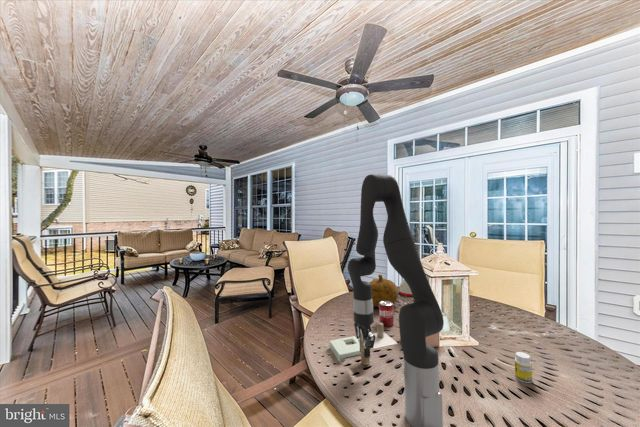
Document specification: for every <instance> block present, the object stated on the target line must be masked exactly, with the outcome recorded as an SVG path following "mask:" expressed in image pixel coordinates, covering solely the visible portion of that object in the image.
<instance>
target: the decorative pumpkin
mask: <svg viewBox="0 0 640 427" xmlns="http://www.w3.org/2000/svg"><path fill="white" fill-rule="evenodd" d="M377 277H378V279H377V278H376V279H375V278H373V279H372V281H368V282H369V283H370V284H371V287H372V301H373V308H377V307H378V308H379V303H380V302H381V301H389V302H392V303H393V306H394V305H395V304H396V302H397V300H398V298H399V289H398V286H397V285H396V283H395V282H394V281H392V280H391V279H386V278H384V277H383V274H378V276H377Z"/></svg>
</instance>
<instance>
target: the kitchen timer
mask: <svg viewBox="0 0 640 427" xmlns="http://www.w3.org/2000/svg"><path fill="white" fill-rule="evenodd" d="M398 292H399V294H400V295H402V296H405V297H413V295H412V292H411V290H410V287H409V286H408V284H407V283H406V281H405V280H404V279H403V280H402V281H401V282H400V284H399V289H398Z"/></svg>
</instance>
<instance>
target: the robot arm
mask: <svg viewBox="0 0 640 427" xmlns="http://www.w3.org/2000/svg"><path fill="white" fill-rule="evenodd" d="M360 195H361V196H360V213H359V214H360V216H359V219H360V221H359V222H360V224H359V231H358V236H357V242H356V247H355V248H356V249H355V250H356V253H357V254H358V255H360V257H353V258H351V259H350V260H349V261H348V263H347V272H348V274H349V277H350V281H351V284H352V290H353V291H352V292H353V300H352V301H353V304H352V309H353V322H354V323H353V325H354V331H355V335H356V336H355V337H356V338H357V339H358V341H359V343H360V336H362V341H363V343H364V357H365V358H369V359H370V358H371V349H373V347H374V342H375V335H372V334H373V333H372V328H371V326H372V324H373V323H374V321H375V320H374V319H375V317H374V306H373V301H372V287H371V284H370V283H369V282H370V281H365V280H362V279H361V277H365V276H370V275H373V274H374V272H375V271H376V267H377V263H376V262H377V261H376V247H377V243H378V238H379V230H378V227H377V223H376V220H375V218H374V217H375V216H374V208H375V205H376V202H377V203H382V202H383V204H384V205H385V206H384V207H385V210H386V215H387V218H386V224H385V228H384V232H383V238H382V240H383V242H382V243H383V247H384V250H385V254H386V257H387V259H388V262H389V263H390V265H391V266H392V268H393V269H394V270H395V271H396V273H398V275H399V276H400V277H401V278H403V280H405V281H406V283H407V284H408V286H409V287H410V290H411V292H412V295H413V296H412V297H413V300H414V302H412V303H408V304H404V305H402V307H401V308H400V309H399V314H398V327H399V328H398V329H399V335H400V336H399V337H400V338H399V339H400V347H401V349H402V352H403V374H404V375H403V376H404V404H405V405H404V406H405V407H404V408H405V419H406V422H407V423H408V424H409V425H410V426H411V427H444V424H443V420H444V419H443V395H442V393H441V392H440V372H439V370H440V369H439V368H440V367H439V353H438V351H437V348H435V347H432V346H430V345H428V344H426V337H427V336H430V335H433V334H436V333H439V334H440V332H441V331H442V330H443V328H444V323H445V322H444V321H445V320H444V316H443V313H442V309H441V307H440V305H439V302H438V301H437V298H436V296H435V294H434V291H433V290H432V287H431V284H430V283H429V280H428V277H427V275H426V272H425V270H424V267H423V263H422V261H421V258H420V254H419V251H418V249H417V245H416V242H415V239H414V237H413V234H412V231H411V229H410V225H409V222H408V219H407V218H408V217H407V215H406V212H405V208H404V204H403V199H402V195H401V190H400V187H399V183H398V181H397V179H396V178H395V177H394V176H393V175H391V174H381V173H380V174H376V173H375V174H368V175H366V176H365V177H364V179H363V181H362V185H361V192H360ZM361 256H362V257H361ZM364 338H367V339H364ZM366 342H367V343H366ZM360 352H361V346H360Z"/></svg>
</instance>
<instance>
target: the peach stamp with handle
mask: <svg viewBox="0 0 640 427" xmlns="http://www.w3.org/2000/svg"><path fill="white" fill-rule="evenodd" d="M426 344H428V345H430V346H432V347H433V348H435V347H440V332H439V333H436V334H433V335H430V336H427V337H426Z"/></svg>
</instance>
